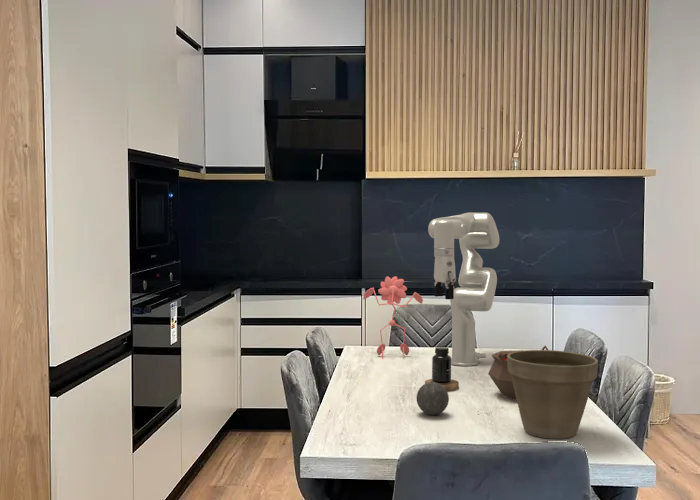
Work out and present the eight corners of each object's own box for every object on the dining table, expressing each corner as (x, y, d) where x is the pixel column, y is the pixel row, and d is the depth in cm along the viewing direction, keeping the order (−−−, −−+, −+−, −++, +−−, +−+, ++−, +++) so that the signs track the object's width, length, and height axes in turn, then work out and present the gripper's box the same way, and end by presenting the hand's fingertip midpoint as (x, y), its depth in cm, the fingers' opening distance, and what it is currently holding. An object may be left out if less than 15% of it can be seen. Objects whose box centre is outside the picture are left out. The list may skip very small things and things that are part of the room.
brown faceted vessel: (525, 408, 234) (525, 358, 233) (473, 393, 254) (473, 346, 253) (575, 398, 247) (575, 350, 246) (522, 384, 267) (522, 339, 266)
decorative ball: (415, 418, 223) (415, 385, 223) (417, 409, 233) (417, 378, 233) (448, 419, 222) (448, 386, 221) (448, 410, 232) (448, 379, 231)
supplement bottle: (452, 383, 259) (452, 349, 258) (432, 383, 259) (433, 349, 258) (449, 379, 266) (450, 346, 265) (431, 379, 266) (431, 346, 265)
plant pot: (579, 419, 222) (580, 348, 221) (611, 444, 197) (612, 365, 196) (497, 420, 221) (498, 348, 220) (519, 446, 196) (519, 366, 195)
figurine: (423, 358, 313) (423, 277, 312) (363, 358, 314) (363, 277, 313) (421, 352, 329) (421, 275, 328) (364, 352, 330) (363, 275, 329)
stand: (449, 382, 270) (450, 376, 269) (464, 390, 258) (464, 384, 258) (419, 385, 266) (419, 379, 266) (433, 392, 255) (433, 386, 254)
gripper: (463, 253, 270) (463, 299, 271) (443, 251, 287) (443, 294, 288) (444, 254, 268) (444, 300, 269) (426, 251, 284) (425, 295, 285)
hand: (444, 297), depth 278 cm, fingers open, 9 cm apart
